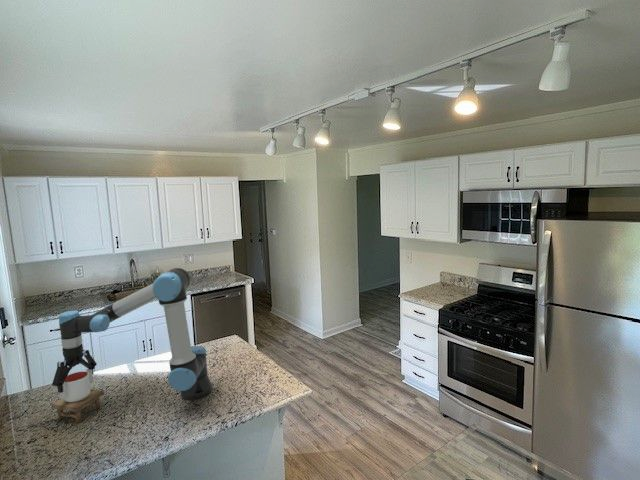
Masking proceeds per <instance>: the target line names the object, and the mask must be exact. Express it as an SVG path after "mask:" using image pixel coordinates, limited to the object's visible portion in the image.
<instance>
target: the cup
mask: <svg viewBox="0 0 640 480" xmlns="http://www.w3.org/2000/svg"><path fill="white" fill-rule="evenodd" d="M63 384H65V387H66V395H67V398H66V399H64V400H65V401H66V402H76V401H80V400H82V399H84V398H86V397H87V396H88V395H89V394H90V389H91V383H90V382H89V373H88V372H86V371H76V372H72V373H70V374H68V375H67V377H66V379H65V381H64V383H63Z"/></svg>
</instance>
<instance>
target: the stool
mask: <svg viewBox="0 0 640 480" xmlns="http://www.w3.org/2000/svg"><path fill="white" fill-rule="evenodd" d="M104 394H105V392H104V390H103V389H100V390H99V389H93V388H90V394H89V395H88V396H87V397H86V398H84V399H82V400H80V401H76V402H66V401H65V400H64V399H61V398H60V399H58V400H56V401H54V402H53V403H51V409H53V410H56V412H57V420H58V421H62V420H64V418H66V417H68V418H72V419H73V418H74V419H75V422H76V424H78V423H81V422H82V420H83V419H82V413H81V412H82V411H81V410H82V409H84V408H85V407H87V406H88V405H91V406H94V407H95V410H96V411H97V410H100V409H101V408H102V407H101V400H100V399H101V397H103V396H104ZM64 411H69V412H64ZM72 412H73V413H72Z"/></svg>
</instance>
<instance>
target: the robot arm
mask: <svg viewBox="0 0 640 480" xmlns="http://www.w3.org/2000/svg"><path fill="white" fill-rule="evenodd" d="M190 284H191V276H190V274H189V272H188V271H187V270H185V269H184V268H181V267H174V268H172V269H170V270H168V271H166V272H163V273H161V274H160V275H159V276H158V277H156V279H154V281H153V283H151V284H149V285H147V286H145V287H143V288H140V289H139V290H137V291H135V292H134V293H133V292H132V294H129V295H127V296H125V297H123V298H121V299H119V300H117V301H116V302H114V303H112V304H109V305H107V306H105V307H103V308H102V309H100V310H98V311H96V312H95V313H93V314H89V315H88V314H87V315H80V311H78V310H68V311H64V312H62V313H60V314H59V315H58V325H59V326H58V327H59V331H60V332H59V333H60V340H61V347H62V356H63V358H64V360H62V361H58V362H57V363H56V370H55V373H54V376H53V377H54V378H53V381H52V383H51V386H53V387H57V393H59V398H60V399H66V398H67V395H66V387H65V384H63V383H64V381H65V379H66V377H67V375H69V373H70V371H71V370H72V369H73V368H74V367H76V366H77V365H80V364H81V365H82V366H83V367H85V368H87V369H85V372H88V373H89V382H90V384H93V383H94V374H95V373H94V370H95V369H96V366H97V361H95V359H94V358H93V356H92V355H91V353H90V350H89V349H84V345H83V336H82V334H83V333H101V332H105V331H107V330H108V329H109V327H110V324H111V323H112V322H114V321H115V320H117V319H120V318H121V317H124V316H126V315H127V314H129V313H130V314H131V312H134V311H135V310H138V309H140V308H141V307H143V306H146V305H148V304H149V303H152V302H153V301H155V300H158V304H159V305H160V306H162V308H163V311H164V316H165V322H166V329H167V334H168V341H169V346H170V353H171V358H170V359H169V361H168V364H169V368H170V369H169V370H170V372H169V373H168V377H167V383H168V384H169V386H170V387H171V388H172V389H174V390H176V391H177V392H179V393H180V395H179V396H180V397H181V399H184V400H189V401H192V400H198V399H199V400H200V399H202V398H205V397H206V396H208V395H209V394H210V393H212V390H213V385H212V381H211V379H210V377H209V375H208V364H207V363H208V362H207V361H208V360H207V350H206V348H205V346H202V345H193V346H192V344H191V339H190V338H191V337H190V333H189V325H188V320H187V313H186V306H185V302H186V301H187V299H188V297H187V290H186V289H188V288H189V286H190ZM83 357H84V358H85V359H86V360H85V359H84V358H83Z"/></svg>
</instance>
